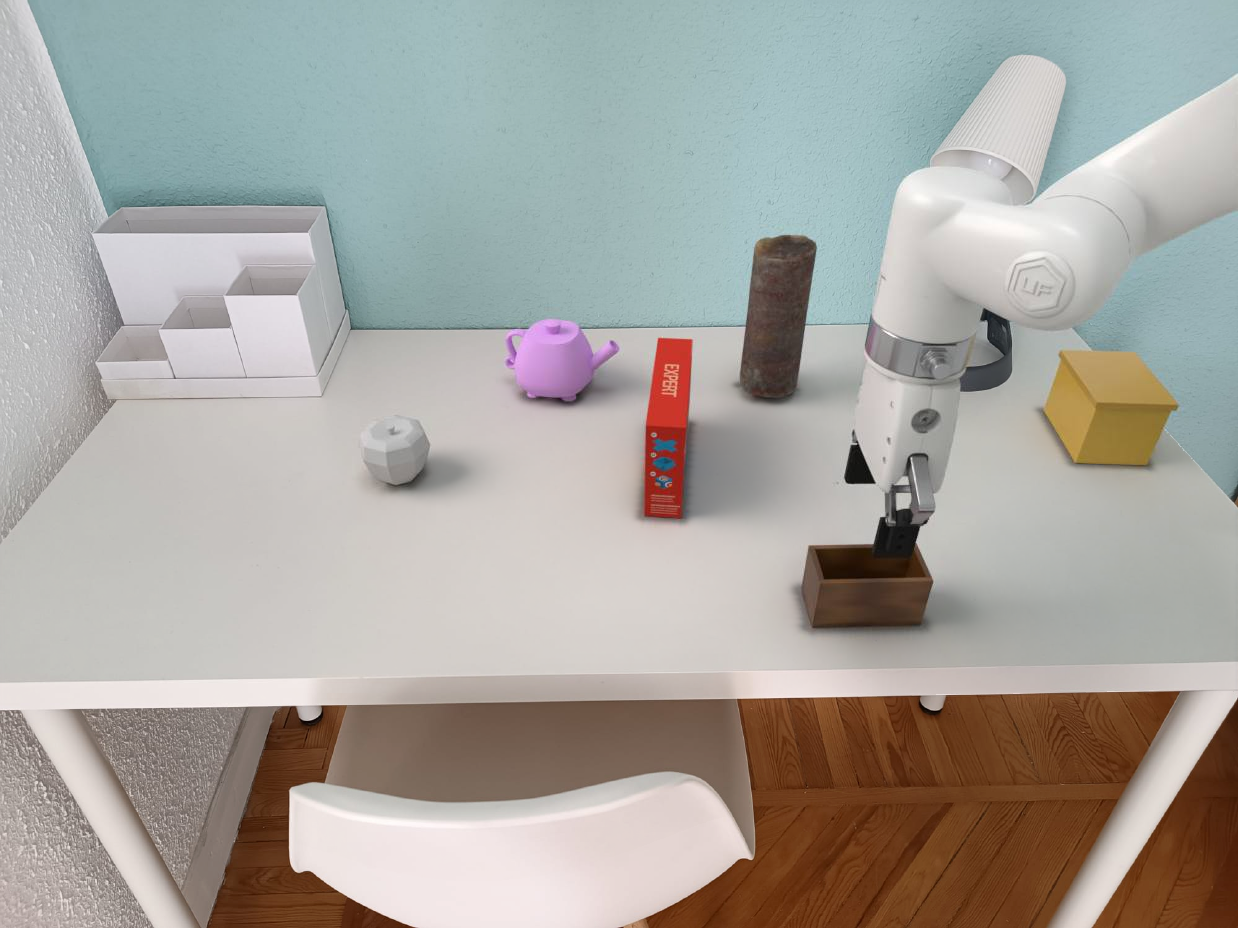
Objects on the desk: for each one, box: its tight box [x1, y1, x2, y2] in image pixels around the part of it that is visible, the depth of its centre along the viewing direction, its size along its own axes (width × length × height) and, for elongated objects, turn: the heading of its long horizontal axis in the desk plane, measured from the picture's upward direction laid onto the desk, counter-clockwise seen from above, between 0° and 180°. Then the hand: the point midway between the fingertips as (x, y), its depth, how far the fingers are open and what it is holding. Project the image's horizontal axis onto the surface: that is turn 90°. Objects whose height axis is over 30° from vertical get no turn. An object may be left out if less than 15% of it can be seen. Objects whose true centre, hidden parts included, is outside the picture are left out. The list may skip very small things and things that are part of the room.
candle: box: [739, 234, 818, 399], centre depth 106 cm, size 8×7×20 cm
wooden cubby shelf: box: [800, 542, 934, 629], centre depth 80 cm, size 10×5×6 cm, turn 91°
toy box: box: [643, 337, 694, 519], centre depth 96 cm, size 18×4×12 cm, turn 174°
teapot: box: [504, 318, 621, 402], centre depth 110 cm, size 10×15×9 cm
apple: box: [357, 414, 431, 486], centre depth 96 cm, size 8×8×7 cm
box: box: [1043, 349, 1180, 466], centre depth 101 cm, size 12×9×8 cm
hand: (875, 516), depth 75 cm, fingers open, 9 cm apart
